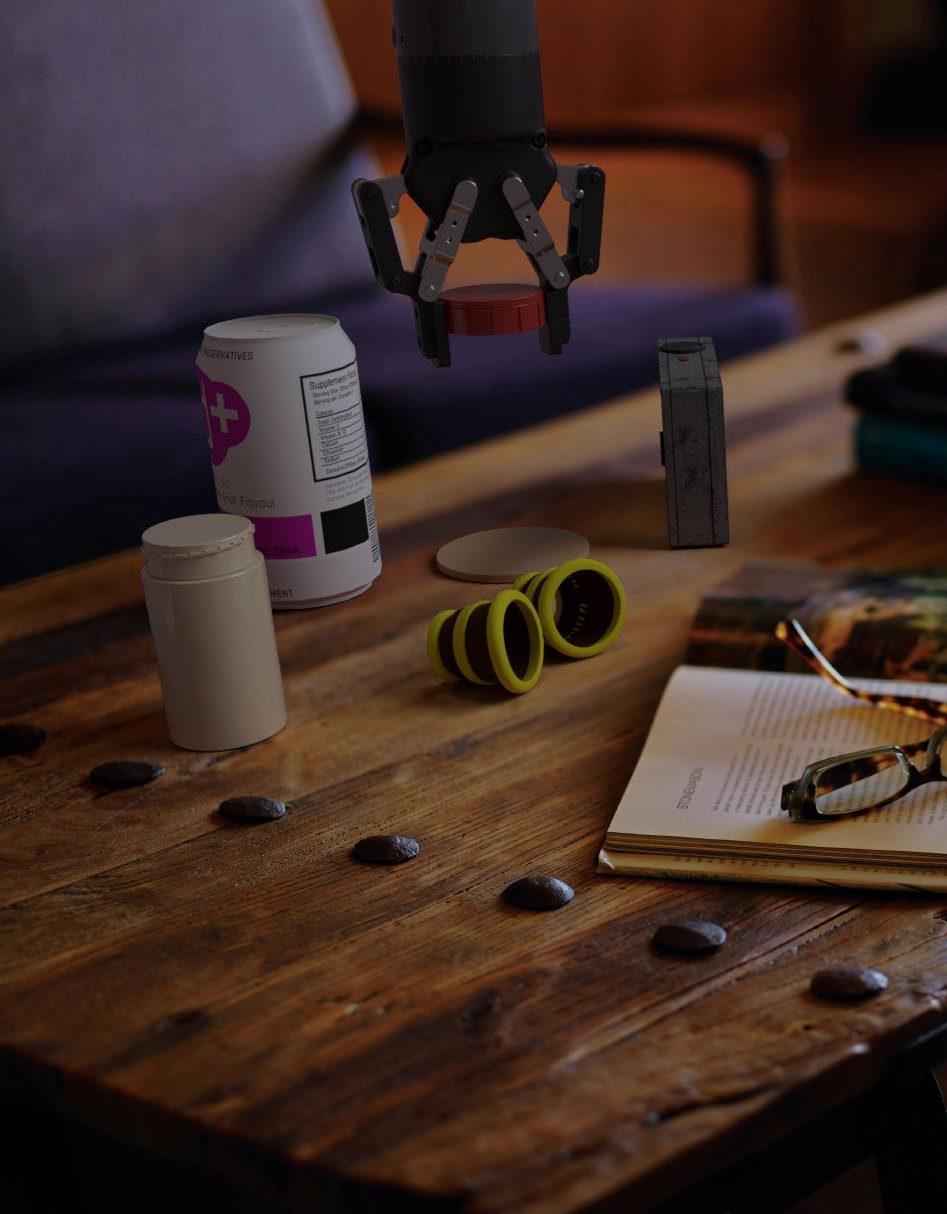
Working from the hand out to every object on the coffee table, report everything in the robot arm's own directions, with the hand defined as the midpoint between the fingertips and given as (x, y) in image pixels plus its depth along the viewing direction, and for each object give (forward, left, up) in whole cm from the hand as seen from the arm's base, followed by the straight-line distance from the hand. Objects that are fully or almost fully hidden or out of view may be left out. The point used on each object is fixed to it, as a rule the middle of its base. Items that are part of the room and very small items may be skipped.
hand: (497, 358), depth 93 cm
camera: (+11, +8, -12) cm, 18 cm away
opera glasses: (+2, -17, -12) cm, 21 cm away
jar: (-12, -22, -12) cm, 28 cm away
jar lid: (0, 0, +3) cm, 3 cm away
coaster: (0, 0, -12) cm, 12 cm away
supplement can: (-11, -4, -12) cm, 17 cm away
